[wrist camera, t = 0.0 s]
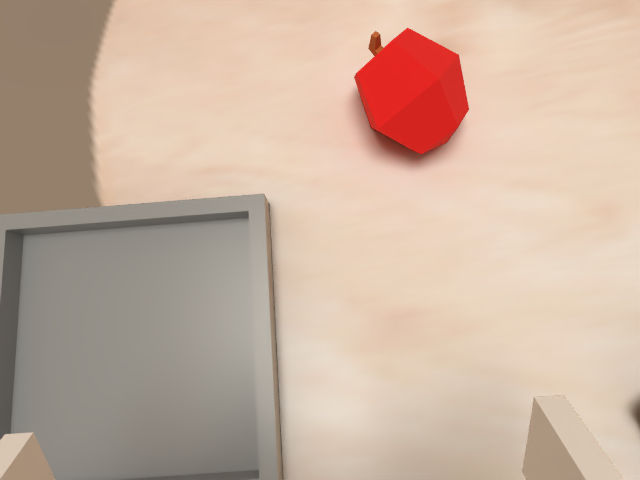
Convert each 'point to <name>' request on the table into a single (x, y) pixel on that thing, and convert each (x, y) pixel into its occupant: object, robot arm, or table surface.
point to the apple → (413, 91)
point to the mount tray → (143, 339)
